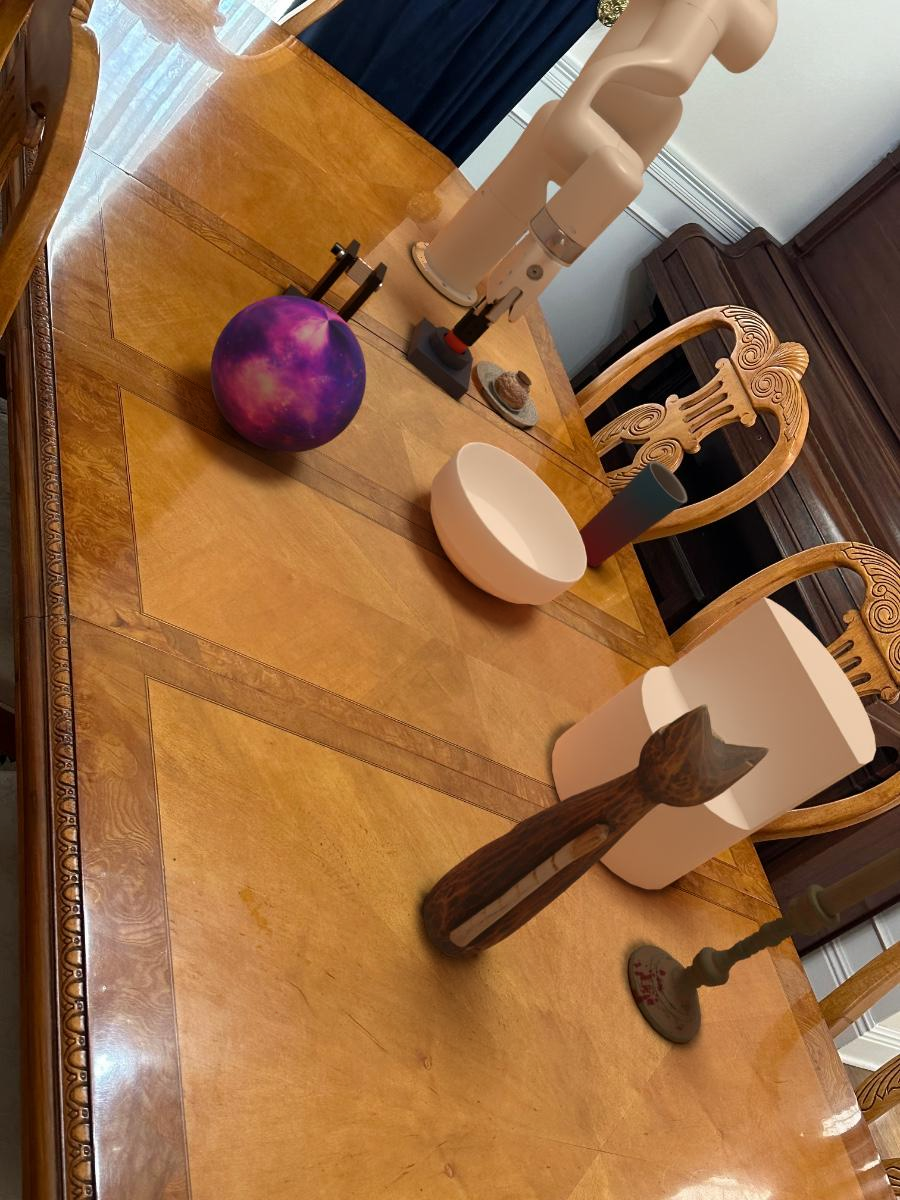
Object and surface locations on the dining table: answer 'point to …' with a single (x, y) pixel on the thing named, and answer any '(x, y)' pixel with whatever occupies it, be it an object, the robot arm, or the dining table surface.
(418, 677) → the dining table surface
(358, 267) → the lever
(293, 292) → the bracket
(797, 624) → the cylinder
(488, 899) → the sculpture
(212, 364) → the decorative orb
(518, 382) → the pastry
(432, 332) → the button box
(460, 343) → the button
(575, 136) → the robot arm
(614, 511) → the cup
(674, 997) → the candlestick holder
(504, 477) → the bowl
